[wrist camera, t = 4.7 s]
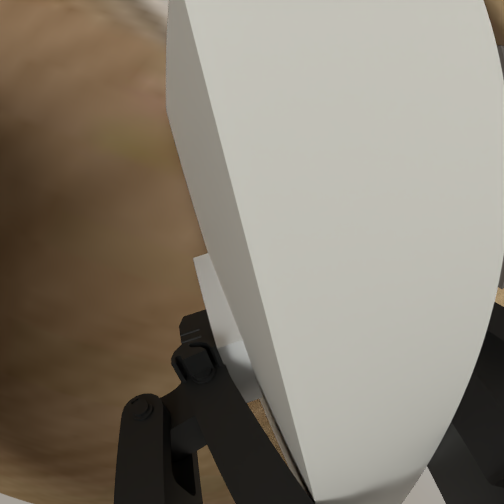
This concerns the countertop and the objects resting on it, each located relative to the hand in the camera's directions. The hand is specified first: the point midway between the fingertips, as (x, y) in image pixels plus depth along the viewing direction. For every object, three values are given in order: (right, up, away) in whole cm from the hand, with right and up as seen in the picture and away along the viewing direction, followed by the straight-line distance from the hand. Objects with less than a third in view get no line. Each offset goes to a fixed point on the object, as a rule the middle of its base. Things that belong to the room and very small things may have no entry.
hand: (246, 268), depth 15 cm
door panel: (0, 0, +1) cm, 1 cm away
